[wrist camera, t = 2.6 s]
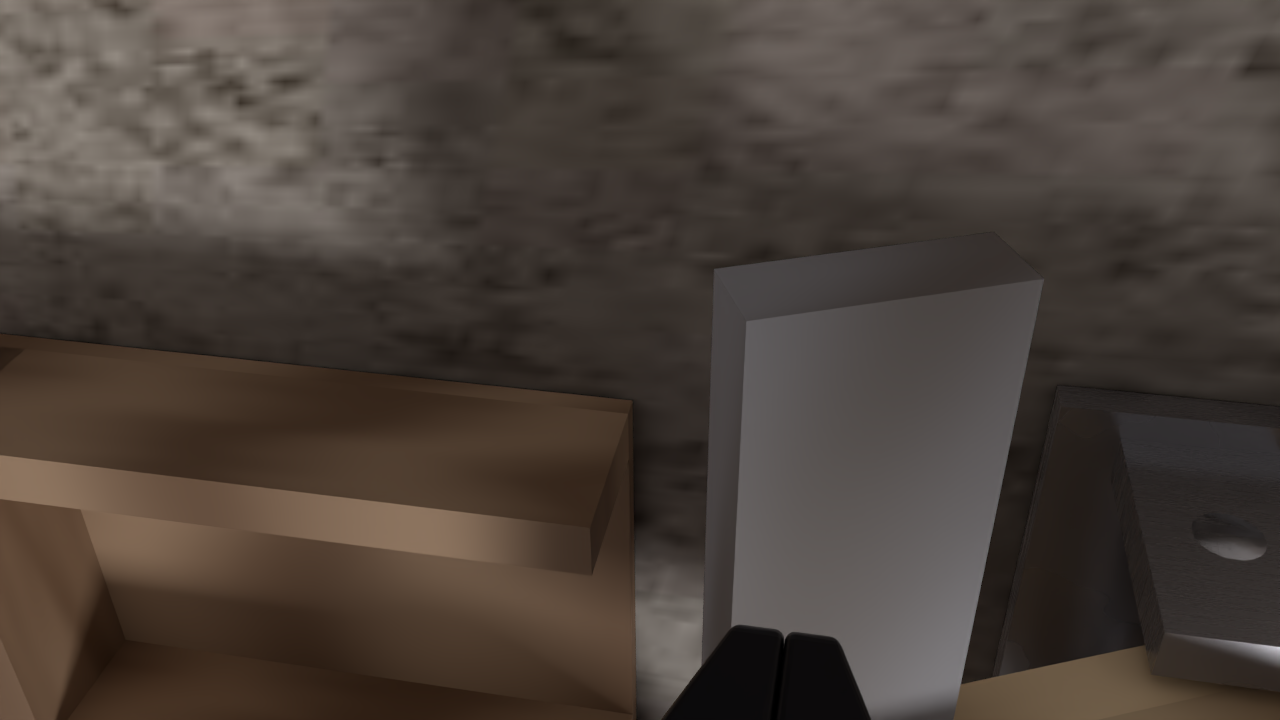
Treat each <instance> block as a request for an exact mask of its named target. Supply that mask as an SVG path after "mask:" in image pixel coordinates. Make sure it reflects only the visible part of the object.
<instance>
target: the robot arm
mask: <svg viewBox="0 0 1280 720" xmlns="http://www.w3.org/2000/svg"><path fill="white" fill-rule="evenodd" d="M661 720H871V717H870V715H869V712H868V710H867V707H866V705H865V702H864V700H863V697H862V695H861V692H860V690H859V687H858V685H857V683H856V680H855V678H854V675H853V673H852V670H851V668H850V665H849V663H848V660H847V658H846V655H845V653H844V650H843V648H842V646H841V644H840V643H839V641H838V640H837V639H835V638H834V637H830V636H823V635H816V634H808V633H801V632H791V633H789V634H788V635H787V636H786V638H785V643H784V636H783V634H782V632H780V631H779V630H777V629H771V628H764V627H756V626H749V625H736V626H733V627H732V628H731V629H730V630H729V631H728V632H727V633H726V634H725V636H724V637H723V638H722V640H721V641H720V642H719V644H718V645H717V646H716V648H715V649H714V650H713V652H712V653H711V654H710V656H709V657H708V658H707V660H706V661H705V662H704V664H703V665H702V666H701V668H700V669H699V670H698V672H697V673H696V674H695V676H694V677H693V678H692V680H691V681H690V682H689V683H688V685H687V686H686V687H685V689H684V690H683V691H682V693H681V694H680V695H679V697H678V698H677V699H676V701H675V702H674V703H673V705H672V706H671V707H670V709H669V710H668V711H667V713H666V714H665V715H664V717H663V718H662V719H661Z"/></svg>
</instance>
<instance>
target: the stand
mask: <svg viewBox="0 0 1280 720" xmlns="http://www.w3.org/2000/svg"><path fill="white" fill-rule="evenodd" d="M1143 645H1145V648H1146V653H1147V657H1148V662H1149V667H1150V672H1151V675H1157V676H1164V677H1172V678H1179V679H1187V680H1194V681H1202V682H1209V683H1217V684H1224V685H1232V686H1239V687H1247V688H1254V689H1262V690H1269V691H1277V692H1280V407H1276V406H1266V405H1256V404H1246V403H1236V402H1225V401H1215V400H1205V399H1195V398H1184V397H1174V396H1164V395H1154V394H1144V393H1133V392H1123V391H1113V390H1103V389H1093V388H1082V387H1072V386H1062V385H1057V389H1056V394H1055V398H1054V403H1053V407H1052V411H1051V416H1050V420H1049V425H1048V429H1047V434H1046V438H1045V442H1044V447H1043V451H1042V456H1041V460H1040V465H1039V469H1038V473H1037V478H1036V482H1035V487H1034V491H1033V496H1032V500H1031V505H1030V509H1029V513H1028V518H1027V522H1026V527H1025V531H1024V536H1023V540H1022V544H1021V549H1020V553H1019V558H1018V562H1017V567H1016V571H1015V575H1014V580H1013V584H1012V589H1011V593H1010V598H1009V602H1008V607H1007V611H1006V615H1005V620H1004V624H1003V629H1002V633H1001V638H1000V642H999V646H998V651H997V655H996V660H995V664H994V669H993V673H992V678H993V677H998V676H1002V675H1007V674H1012V673H1016V672H1021V671H1026V670H1030V669H1035V668H1040V667H1044V666H1049V665H1054V664H1058V663H1063V662H1068V661H1073V660H1077V659H1082V658H1087V657H1091V656H1096V655H1101V654H1105V653H1110V652H1115V651H1119V650H1124V649H1129V648H1133V647H1138V646H1143Z"/></svg>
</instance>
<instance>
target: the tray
mask: <svg viewBox="0 0 1280 720" xmlns="http://www.w3.org/2000/svg"><path fill="white" fill-rule="evenodd" d="M0 720H637V717H636V636H635V556H634V476H633V401H632V400H623V399H613V398H604V397H594V396H585V395H575V394H566V393H556V392H547V391H537V390H528V389H518V388H509V387H499V386H490V385H481V384H471V383H462V382H452V381H443V380H433V379H424V378H414V377H405V376H395V375H386V374H376V373H367V372H357V371H348V370H339V369H329V368H320V367H310V366H301V365H291V364H282V363H272V362H263V361H253V360H244V359H234V358H225V357H215V356H206V355H196V354H187V353H178V352H168V351H159V350H149V349H140V348H130V347H121V346H111V345H102V344H92V343H83V342H73V341H64V340H54V339H45V338H36V337H26V336H17V335H7V334H0Z"/></svg>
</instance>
